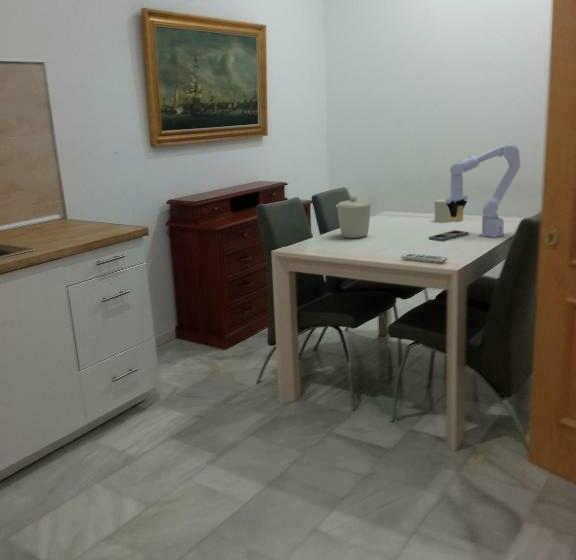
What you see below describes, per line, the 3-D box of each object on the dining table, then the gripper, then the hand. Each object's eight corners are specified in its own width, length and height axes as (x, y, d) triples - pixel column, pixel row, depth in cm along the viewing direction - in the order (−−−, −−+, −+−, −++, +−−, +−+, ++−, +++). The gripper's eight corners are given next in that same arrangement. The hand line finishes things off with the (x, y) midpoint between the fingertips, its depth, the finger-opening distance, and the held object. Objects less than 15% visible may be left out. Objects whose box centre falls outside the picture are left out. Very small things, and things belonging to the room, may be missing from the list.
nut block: (463, 220, 310) (463, 205, 308) (457, 222, 308) (457, 206, 306) (455, 219, 314) (455, 204, 312) (449, 221, 311) (449, 205, 309)
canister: (371, 239, 314) (370, 197, 308) (335, 240, 318) (333, 198, 312) (373, 232, 331) (372, 192, 325) (339, 233, 335) (337, 193, 329)
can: (447, 223, 343) (447, 201, 340) (431, 222, 349) (431, 200, 346) (454, 220, 350) (454, 198, 347) (438, 219, 356) (438, 198, 353)
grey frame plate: (468, 234, 312) (468, 231, 311) (442, 241, 300) (442, 238, 299) (454, 232, 318) (454, 230, 318) (428, 239, 306) (428, 236, 306)
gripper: (459, 186, 314) (458, 213, 317) (440, 189, 305) (440, 217, 309) (471, 186, 308) (470, 214, 312) (452, 190, 300) (452, 218, 303)
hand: (456, 216), depth 310 cm, fingers closed on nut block, 4 cm apart
